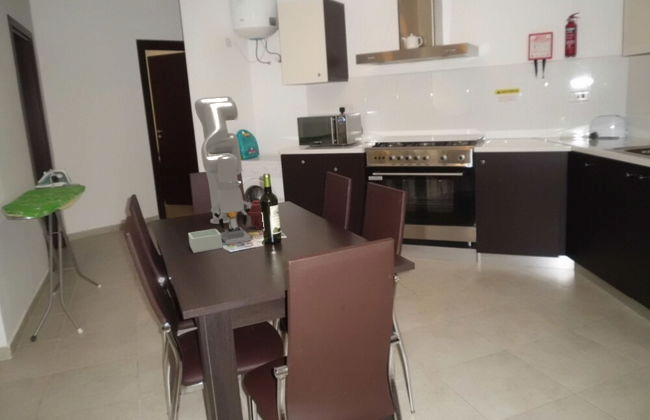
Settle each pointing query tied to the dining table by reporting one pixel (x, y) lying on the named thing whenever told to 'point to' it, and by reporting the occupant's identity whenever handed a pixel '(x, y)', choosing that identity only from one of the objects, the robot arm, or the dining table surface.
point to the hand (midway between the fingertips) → (233, 225)
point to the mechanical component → (256, 214)
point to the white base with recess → (234, 236)
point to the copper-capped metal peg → (233, 221)
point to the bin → (205, 240)
